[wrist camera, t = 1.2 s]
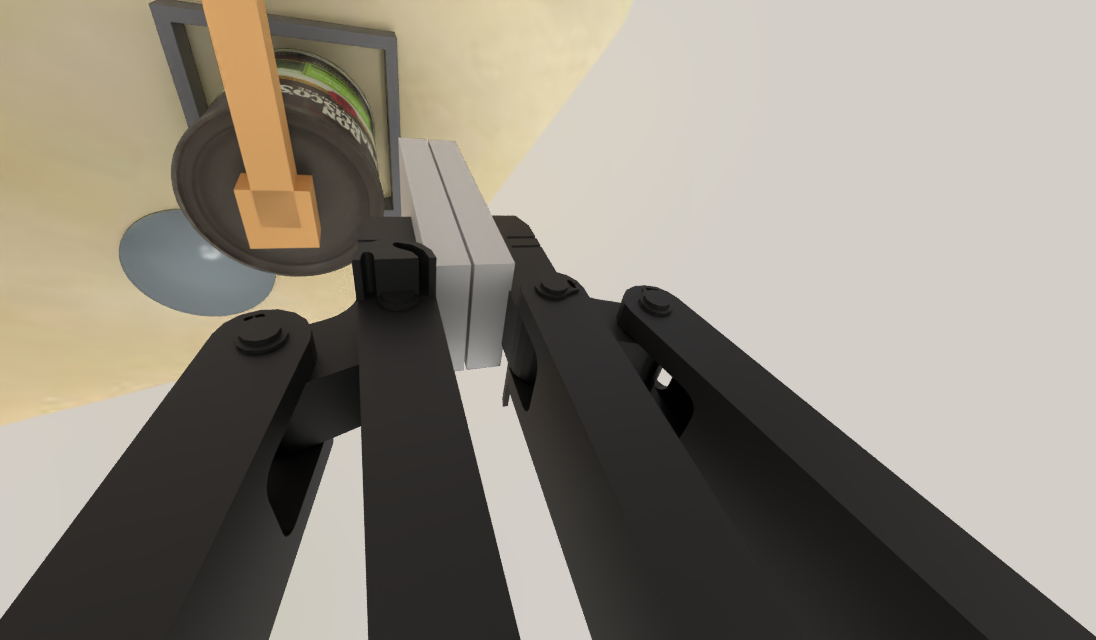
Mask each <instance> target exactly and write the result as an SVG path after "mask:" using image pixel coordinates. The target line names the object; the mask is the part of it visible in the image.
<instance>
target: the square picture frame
mask: <svg viewBox="0 0 1096 640" xmlns="http://www.w3.org/2000/svg"><path fill="white" fill-rule="evenodd" d="M149 6H150V9H151V12H152V16H153V19H154V22H155V25H156V28H157V31H158V34H159V37H160V40H161V43H162V46H163V50H164V53H165V56H166V59H167V62H168V65H169V68H170V71H171V74H172V77H173V81H174V84H175V87H176V90H177V93H178V96H179V99H180V102H181V105H182V108H183V111H184V115H185V118H186V121H187V124H188V127H190V126H191V125H192V124H193V123H194V122H195V121H196V120H198V119H199V118H200V117H201V116H202V115H203V114H204V113H205V111H206V110H207V109H208V107H207V104H206V100H205V97H204V93H203V90H202V86H201V83H200V79H199V76H198V72H197V69H196V66H195V62H194V59H193V55H192V52H191V48H190V45H189V41H188V38H187V35H186V31H185V28H184V24H191V25H199V26H207V27H208V24H207V20H206V17H205V13H204V9H203V5H202V4H195V3H189V2H182V1H175V0H156V1H154V2H151V3H149ZM267 18H268V23H269V29H270V34H271V35H276V36H283V37H291V38H299V39H306V40H314V41H322V42H329V43H337V44H345V45H352V46H360V47H368V48H375V49H383V50H384V63H385V82H386V100H387V119H388V137H389V156H390V175H391V193H392V198H384V217H401V193H400V168H399V144H398V137H400V111H399V85H398V58H397V38H396V35H395V33H394V32H389V31H382V30H375V29H368V28H361V27H354V26H348V25H341V24H334V23H327V22H320V21H313V20H306V19H299V18H292V17H285V16H278V15H271V14H267Z"/></svg>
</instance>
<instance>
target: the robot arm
mask: <svg viewBox="0 0 1096 640" xmlns="http://www.w3.org/2000/svg"><path fill="white" fill-rule="evenodd" d="M398 144H399V168H400V193H401V217H366V218H365V219H364V220H363V221H362V222H361V224H360V225H359V226H358V227H357V239H358V250H356V251H355V252H354V255H353V258H352V267H353V275H354V283H355V291H356V301H355V302H354V304H353V305H352V306H351V307H350V308H348V309H347V310H346V311H344V312H342V313H341V314H339V315H337V316H335V317H332V318H329V319H326V320H323V321H319V322H316V323H312V324H309V323H308V322H307V320H306V319H305V318H303V317H301V316H300V315H298V314H296V313H294V312H289V311H284V310H279V309H277V310H259V311H255V312H251V313H247V314H243V315H240V316H238V317H236V318H234V319H232V320H230V321H227V322H225V323H224V324H223V325H222V326H220V327H219V328H218V329H217V330H216V331H215V332H214V333H213V334H212V335H211V336H210V338H209V339H208V340H207V342H206V343H205V344H204V346H203V347H202V348H201V350H200V351H199V352H198V354H197V355H196V356H195V358H194V359H193V360H192V362H191V363H190V365H189V366H188V367H187V369H186V370H185V371H184V373H183V374H182V375H181V377H180V378H179V379H178V381H177V382H176V383H175V385H174V386H173V388H172V389H171V390H170V392H169V393H168V394H167V396H166V397H165V398H164V400H163V401H162V402H161V404H160V405H159V406H158V408H157V409H156V410H155V412H154V413H153V414H152V416H151V417H150V418H149V420H148V421H147V422H146V424H145V425H144V426H143V428H142V429H141V431H140V432H139V433H138V435H137V436H136V437H135V439H134V440H133V441H132V443H131V444H130V446H129V447H128V448H127V450H126V451H125V452H124V453H123V455H122V456H121V457H120V459H119V460H118V462H117V463H116V464H115V466H114V467H113V468H112V470H111V471H110V472H109V474H108V475H107V476H106V478H105V479H104V481H103V482H102V483H101V484H100V486H99V487H98V489H97V490H96V491H95V492H94V494H93V495H92V497H91V498H90V499H89V501H88V502H87V503H86V505H85V506H84V507H83V509H82V510H81V511H80V513H79V514H78V515H77V517H76V518H75V519H74V521H73V522H72V524H71V525H70V526H69V528H68V529H67V530H66V532H65V533H64V534H63V536H62V537H61V539H60V540H59V541H58V542H57V544H56V545H55V546H54V548H53V549H52V551H51V552H50V553H49V554H48V556H47V557H46V559H45V560H44V561H43V563H42V564H41V565H40V567H39V568H38V569H37V571H36V572H35V574H34V575H33V576H32V577H31V579H30V580H29V581H28V583H27V584H26V585H25V587H24V588H23V589H22V591H21V592H20V594H19V595H18V597H17V598H16V599H15V600H14V602H13V603H12V604H11V606H10V607H9V609H8V610H7V611H6V612H5V614H4V615H3V616H2V618H1V619H0V640H269V637H270V634H271V631H272V628H273V625H274V622H275V619H276V615H277V612H278V610H279V606H280V603H281V600H282V597H283V594H284V591H285V588H286V585H287V582H288V579H289V576H290V573H291V570H292V567H293V564H294V561H295V558H296V555H297V552H298V549H299V545H300V542H301V539H302V536H303V533H304V530H305V527H306V524H307V521H308V518H309V515H310V512H311V509H312V506H313V503H314V500H315V497H316V494H317V490H318V487H319V485H320V482H321V479H322V475H323V472H324V469H325V466H326V463H327V460H328V457H329V454H330V451H331V448H332V445H333V438H334V437H336V436H338V435H341V434H343V433H346V432H348V431H350V430H353V429H355V428H357V427H360V426H361V438H362V468H363V497H364V526H365V555H366V586H367V613H368V614H367V615H368V640H520V636H519V632H518V628H517V624H516V620H515V615H514V611H513V607H512V603H511V599H510V595H509V591H508V587H507V583H506V579H505V575H504V571H503V567H502V563H501V559H500V555H499V550H498V547H497V543H496V538H495V534H494V530H493V526H492V522H491V518H490V514H489V510H488V506H487V502H486V498H485V494H484V490H483V485H482V481H481V477H480V474H479V469H478V465H477V461H476V457H475V453H474V449H473V445H472V441H471V437H470V433H469V429H468V424H467V420H466V417H465V412H464V408H463V404H462V400H461V396H460V392H459V388H458V384H457V380H456V376H455V372H454V371H461V370H464V362H465V365H466V369H467V370H470V369H478V368H486V367H495V366H500V363H501V357H502V350H504V352H505V355H506V358H507V361H508V367H507V373H506V379H505V385H504V392H503V399H502V400H503V406H508V401H509V395H511V398H512V401H513V404H514V407H515V410H516V413H517V416H518V419H519V422H520V425H521V427H522V431H523V434H524V437H525V440H526V443H527V446H528V449H529V452H530V455H531V458H532V461H533V464H534V467H535V470H536V473H537V476H538V479H539V482H540V485H541V488H542V491H543V494H544V497H545V500H546V503H547V506H548V509H549V512H550V515H551V518H552V520H553V524H554V527H555V530H556V533H557V536H558V539H559V542H560V544H561V548H562V551H563V554H564V556H565V560H566V563H567V566H568V568H569V572H570V575H571V578H572V580H573V583H574V587H575V589H576V593H577V596H578V599H579V602H580V605H581V608H582V611H583V614H584V616H585V620H586V623H587V626H588V629H589V631H590V635H591V637H592V640H1096V636H1094V635H1093V634H1092V633H1091V632H1089V631H1088V630H1087V629H1086V628H1084V627H1083V626H1082V625H1081V624H1080V623H1078V622H1077V621H1076V620H1074V619H1073V618H1072V617H1071V616H1070V615H1068V614H1067V613H1066V612H1065V611H1064V610H1062V609H1061V608H1060V607H1058V606H1057V605H1056V604H1055V603H1054V602H1052V601H1051V600H1050V599H1049V598H1047V597H1046V596H1045V595H1044V594H1043V593H1041V592H1040V591H1039V590H1037V589H1036V588H1035V587H1034V586H1033V585H1031V584H1030V583H1029V582H1027V581H1026V580H1025V579H1024V578H1023V577H1022V576H1020V575H1019V574H1018V573H1016V572H1015V571H1014V570H1013V569H1012V568H1010V567H1009V566H1008V565H1007V564H1005V563H1004V562H1003V561H1002V560H1001V559H999V558H998V557H997V556H995V555H994V554H993V553H992V552H991V551H989V550H988V549H987V548H986V547H984V546H983V545H982V544H981V543H980V542H978V541H977V540H976V539H975V538H973V537H972V536H971V535H970V534H968V533H967V532H966V531H965V530H963V529H962V528H961V527H960V526H959V525H957V524H956V523H955V522H954V521H952V520H951V519H950V518H949V517H947V516H946V515H945V514H944V513H942V512H941V511H940V510H939V509H938V508H936V507H935V506H934V505H933V504H931V503H930V502H929V501H928V500H926V499H925V498H924V497H923V496H921V495H920V494H919V493H918V492H916V491H915V490H914V489H913V488H911V487H910V486H909V485H908V484H906V483H905V482H904V481H903V480H902V479H900V478H899V477H898V476H897V475H896V474H894V473H893V472H892V471H891V470H889V469H888V468H887V467H886V466H884V465H883V464H882V463H880V462H879V461H878V460H877V459H876V458H875V457H873V456H872V455H871V454H869V453H868V452H867V451H866V450H865V449H863V448H862V447H861V446H860V445H858V444H857V443H856V442H855V441H854V440H852V439H851V438H850V437H849V436H847V435H846V434H845V433H844V432H842V431H841V430H840V429H839V428H837V427H836V426H835V425H834V424H833V423H831V422H830V421H829V420H827V419H826V418H825V417H824V416H822V415H821V414H820V413H819V412H818V411H816V410H815V409H814V408H813V407H812V406H810V405H809V404H808V403H807V402H805V401H804V400H803V399H801V398H800V397H799V396H798V395H797V394H795V393H794V392H793V391H792V390H791V389H789V388H788V387H787V386H785V385H784V384H783V383H782V382H781V381H779V380H778V379H777V378H775V377H774V376H773V375H772V374H771V373H769V372H768V371H767V370H766V369H765V368H763V367H762V366H761V365H760V364H758V363H757V362H756V361H755V360H753V359H752V358H751V357H750V356H749V355H747V354H746V353H745V352H744V351H742V350H741V349H740V348H738V347H737V346H736V345H735V344H734V343H732V342H731V341H730V340H729V339H728V338H726V337H725V336H724V335H723V334H721V333H720V332H719V331H718V330H716V329H715V328H714V327H713V326H712V325H710V324H709V323H708V322H706V321H705V320H704V319H703V318H702V317H700V316H699V315H698V314H697V313H695V312H694V311H693V310H692V309H690V308H689V307H688V306H687V305H686V304H684V303H683V302H682V301H681V300H679V299H678V298H677V297H675V296H674V295H672V294H670V293H669V292H667V291H664V290H662V289H660V288H658V287H653V286H652V287H651V286H645V285H644V286H634V287H632V288H630V289H627V290H626V292H625V294H624V296H623V299H622V301H621V303H618V302H612V301H605V300H599V299H594V298H590V297H589V296H588V294H587V293H586V291H585V289H584V288H583V287H582V286H581V285H580V284H579V283H578V282H577V281H576V280H574V279H573V278H571V277H569V276H567V275H564V274H561V273H557V272H556V271H555V269H554V267H553V266H552V264H551V262H550V260H549V259H548V257H547V255H546V254H545V252H544V251H543V249H542V247H540V244H539V242H538V240H537V239H536V238H535V235H534V234H533V232H532V230H531V229H530V227H529V225H527V224H526V223H524V222H523V221H522V220H520V219H519V218H518V217H516V216H492V215H491V213H490V211H489V209H488V207H487V205H486V203H485V201H484V199H483V197H482V195H481V193H480V191H479V189H478V187H477V185H476V183H475V181H474V178H473V176H472V174H471V172H470V170H469V168H468V166H467V164H466V162H465V160H464V158H463V156H462V154H461V152H460V150H459V148H458V146H457V144H456V142H455V141H446V140H431V139H429V146H428V143H427V140H426V139H416V138H400V137H398ZM662 368H663V369H664V370H666V371H667V372H668V373H669V374H670V375H671V376H672V379H671V381H670V383H669V385H668V386H664V385H662V384H661V383H660V382H658V381H657V378H658V376H659V374H660V372H661V370H662Z"/></svg>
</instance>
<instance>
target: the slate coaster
mask: <svg viewBox="0 0 1096 640" xmlns="http://www.w3.org/2000/svg"><path fill="white" fill-rule="evenodd" d="M119 258H120V263H121V265H122V268H123V270H124V272H125V274H126V275H127V277H128V278H129V279H130V281H131V282H132V283H133V284H134V285H135V286H136V287H137V288H138V289H139V290H140V291H141V292H143V293H144V294H145V295H147V296H148V297H150V298H151V299H153V300H154V301H156V302H158V303H160V304H162V305H164V306H167V307H169V308H172V309H174V310H178V311H181V312H184V313H189V314H194V315H201V316H226V315H233V314H238V313H241V312H244V311H247V310H249V309H251V308H253V307H255V306H257V305H258V304H260V303H261V302H262V301H263V300H264V299H265V298H266V297H267V296H268V295H269V293H270V292H271V290H272V288H273V285H274V281H275V274H271V273H266V272H263V271H259V270H256V269H253V268H250V267H248V266H245V265H243V264H240V263H238V262H237V261H235V260H233V259H231V258H229V257H227V256H226V255H224V254H223V253H221V252H220V251H218V250H217V249H215V248H214V247H213V246H211V245H210V244H209V243H208V242H207V241H206V240H204V239H203V238H202V237H201V236H200V235H199V234H198V233H197V231H196V230H195V229H194V228H193V227H192V226H191V224H190V223H189V221H188V220H187V219H186V217H185V216H184V214H183V212H182V211H181V209H175V210H166V211H160V212H156V213H153V214H150V215H148V216H145V217H143V218H141V219H140V220H138V221H136V222H135V223H134V224H133V225H132V226H131V227H130V228H129V229H128V230H127V231H126V233H125V234H124V236H123V238H122V240H121V242H120V247H119Z"/></svg>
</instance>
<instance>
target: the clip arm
mask: <svg viewBox="0 0 1096 640" xmlns="http://www.w3.org/2000/svg"><path fill="white" fill-rule="evenodd" d="M201 1H202V5H203V9H204V13H205V17H206V20H207V24H208V28H209V32H210V36H211V40H212V43H213V47H214V51H215V55H216V59H217V62H218V66H219V70H220V74H221V78H222V82H223V85H224V89H225V93H226V97H227V101H228V105H229V108H230V112H231V116H232V120H233V124H234V127H235V131H236V135H237V139H238V143H239V147H240V150H241V154H242V158H243V162H244V166H245V170H246V173H241V174H240V176H239V178H238V181H237V183H236V185H235V188H234V193H235V197H236V200H237V204H238V207H239V211H240V214H241V218H242V221H243V225H244V228H245V232H246V235H247V239H248V242H249V246H250V249H267V248H320V237H321V226H320V220H319V214H318V208H317V202H316V196H315V190H314V184H313V178H312V175H297V172H296V166H295V161H294V156H293V151H292V145H291V140H290V135H289V129H288V124H287V119H286V113H285V108H284V103H283V98H282V92H281V87H280V82H279V76H278V71H277V66H276V60H275V55H274V50H273V45H272V39H271V34H270V29H269V23H268V18H267V13H266V8H265V2H264V0H201Z"/></svg>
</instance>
